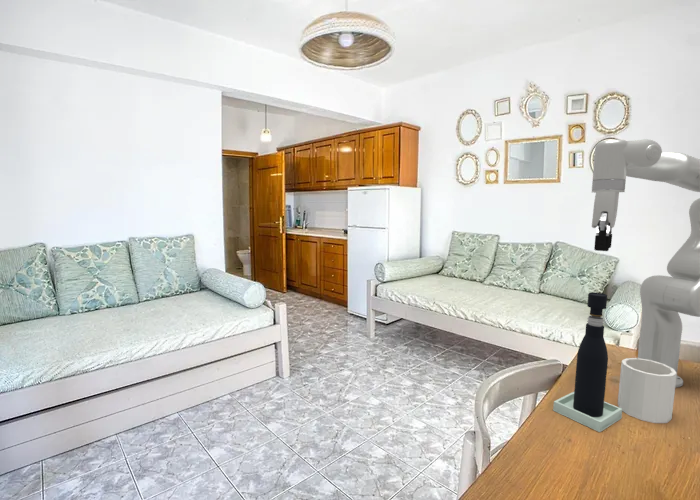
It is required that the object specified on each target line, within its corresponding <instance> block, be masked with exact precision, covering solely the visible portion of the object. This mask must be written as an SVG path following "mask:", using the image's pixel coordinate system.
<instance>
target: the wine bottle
mask: <svg viewBox="0 0 700 500" xmlns="http://www.w3.org/2000/svg"><path fill="white" fill-rule="evenodd" d="M587 296H588V297H587V307H588V308H589V316H588V317H587V323H585V333H584V336H583V337H582V339H581V342H580V344H579V346H578V349H577V354H576V355H577V356H576V365H575V366H576V369H575V379H574V389H573V390H574V391H573V392H574V402H573V408H574V409H575V410H577V411H579V412H582V413H584V414H586V415H588V416H591V417H601V416H602V415H603V408H604V402H605V397H606V395H605V394H606V385H607V374H608V363H609V355H608V348H607V345H606V341H605V338H604V335H605V334H604V333H605V326H604V318H603V310H606V309H607V302H608V295H607V294H606V293H603V292H594V291H593V292H588V295H587Z"/></svg>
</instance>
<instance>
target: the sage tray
mask: <svg viewBox="0 0 700 500" xmlns="http://www.w3.org/2000/svg"><path fill="white" fill-rule="evenodd" d="M573 402H574V391H572V392H570V393H568V394H566V395H564V396H562V397H560V398H558V399H556V400H554V401H553V405H552V406H553V408H552V411H554V412H555V413H557V414H560V415H562V416H564V417H567V418H568V419H571V420H573V421H575V422H576V423H578V424H581V425H583V426H585V427H588V428H590V429H592V430H594V431H596V432H597V433H602V431H604V430H606V429H607V428H609V427H610V426H612V425H613V424H615V423H617V422H618V421H620V420H621V419H622V418H623V411H622V408H619V406H618V405H617V406H616V405H614V404H612V403H609V402H606V401H604V408H603V415H602V416H601V417H591V416H588V415H586V414H584V413H582V412H579V411H577V410H575V409H574V408H573Z"/></svg>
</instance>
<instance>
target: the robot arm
mask: <svg viewBox="0 0 700 500" xmlns="http://www.w3.org/2000/svg"><path fill="white" fill-rule="evenodd" d="M627 177H629V178H635V179H641V180H646V181H653V182H660V183H661V182H662V183H666V184H670V185H672V186H673V185H674V186H676V187H679V188H682V189H685V190H688V191H692V192H697V193H700V158H697V157H695V156H691V155H689V154H686V153H683V152H668V151H667V152H663V149H662V146H661V144H659V143H658V141H655V140H653V139H647V138H646V139H645V138H644V139H637V140H635V139H634V140H625V139H608V140H607V139H606V140H601V141H598V143H597V144H595V147H594V157H593V171H592V181H591V182H592V184H591V193H594V194H595V196H594V203H593V210H592V212H593V213H592V221H591V228H592V229H595V228H596V233H595V236H594V247H593V248H594V249H593V250H594V251H598V252H599V251H600V252H609V249H610V248H611V247H612V242H613V241H612V239H613V233H612V231H613V230H612V229H613V228H614V227H615V225H616V220H617V216H618V207H619V198H620V197H619V196H620V193H626V192H625V191H626V190H625V189H626V179H627ZM688 214H689V216H688V217H689V220H690V221H689V223H690V235H689V236H688V238H687V239H686V240H685V242H684V243H683V244H682V245H681V247H680V248H679V249H678V250H677V251H676V252H675V254H673V256H672V257H671V259H670V260H669V261H668V262H667V265H666V271H667V274H668V275H670V276H668V275H659V274H658V275H652V276H649V277H647V278H645V279H644V280H643V281H642V283H641V285H640V288H639V293H640V295H639V296H640V301H641V302H640V303H641V321H640V332H639V339H638V340H639V341H638V351H637V358H640V359H647V360H652V361H655V362H659V363H662V364H665V365H667V366H669V367H671V368H673V369H674V370H675V371H676V373H677V374H678V367H679V362H680V361H679V359H680V352H681V351H680V350H681V341H682V333H683V322H682V318H681V316H680V314H683V315H688V316H690V317H698V318H699V317H700V197H699V198H697V199H696V200H694V201H692V203H691V205H690V206H689V210H688ZM683 385H684V379H683V378H681V376H679V375H677V376H676V385H675V389H676V388H680V387H683Z"/></svg>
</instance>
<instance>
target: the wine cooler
mask: <svg viewBox="0 0 700 500" xmlns="http://www.w3.org/2000/svg"><path fill="white" fill-rule="evenodd" d="M676 376H678V372H677V373H676V371H675V370H674V369H673V368H671V367H669V366H667V365H665V364H662V363H659V362H655V361H652V360H647V359H640V358H638V357H626V358H624V359H622V360H621V365H620V375H619V385H618V395H617V407H619V408H622V413H625V414H626V415H628V416H630V417H632V418H635V419H638V420H641V421H644V422H648V423H653V424H668V423H669V422H670V421H671V420H672V418H673V410H674V401H675V392H676V388H675V385H676Z"/></svg>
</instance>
